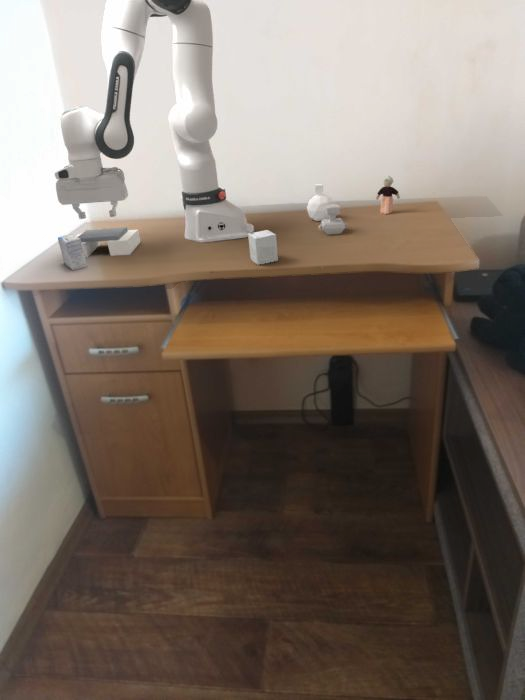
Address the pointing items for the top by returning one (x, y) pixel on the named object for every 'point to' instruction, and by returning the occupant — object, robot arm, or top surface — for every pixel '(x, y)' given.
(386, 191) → the grandmother figurine
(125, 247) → the cutout shelf
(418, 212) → the top surface
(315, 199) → the perfume bottle
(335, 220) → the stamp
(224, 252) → the top surface
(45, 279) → the top surface
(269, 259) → the skincare box
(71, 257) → the medicine box
